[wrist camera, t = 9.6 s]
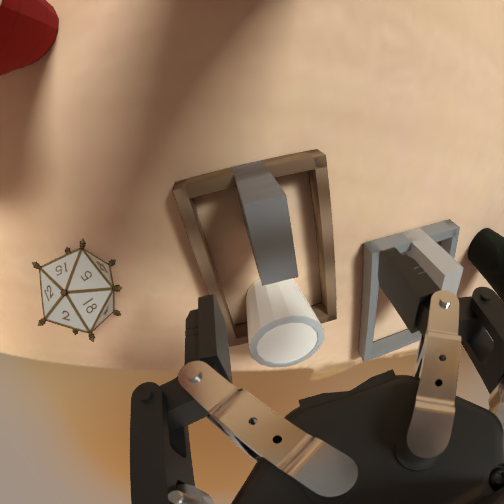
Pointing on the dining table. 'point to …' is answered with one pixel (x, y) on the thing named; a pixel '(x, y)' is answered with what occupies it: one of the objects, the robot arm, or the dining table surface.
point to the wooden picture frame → (265, 226)
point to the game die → (77, 290)
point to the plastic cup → (25, 32)
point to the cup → (489, 258)
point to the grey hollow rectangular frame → (428, 257)
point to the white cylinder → (281, 324)
